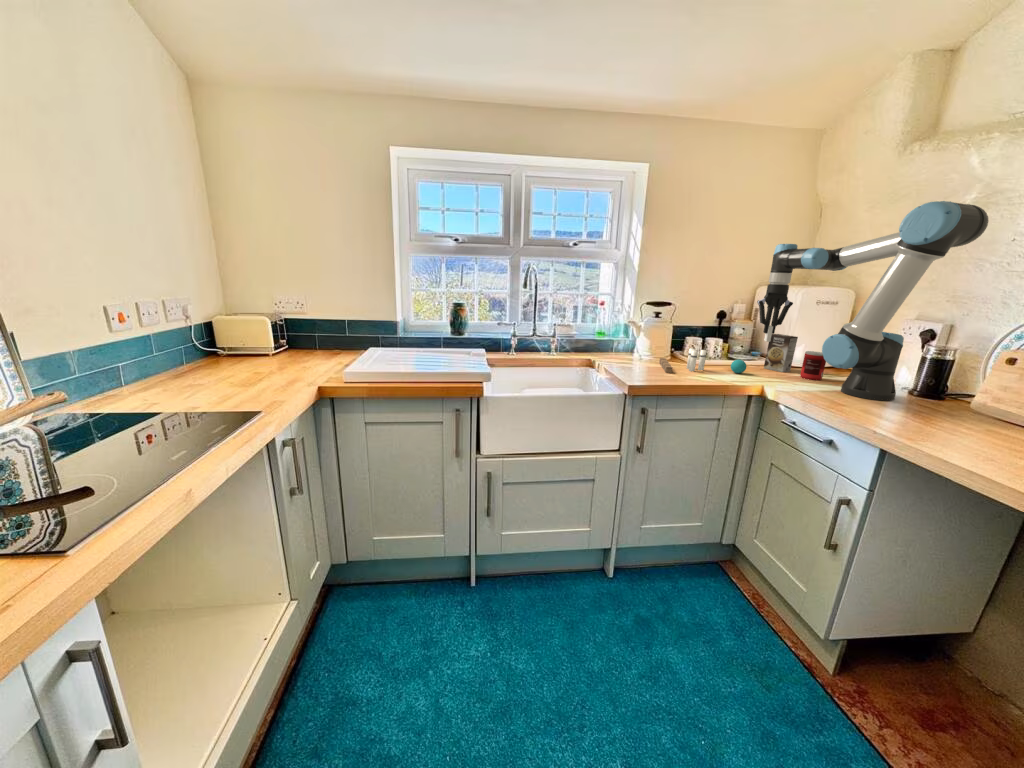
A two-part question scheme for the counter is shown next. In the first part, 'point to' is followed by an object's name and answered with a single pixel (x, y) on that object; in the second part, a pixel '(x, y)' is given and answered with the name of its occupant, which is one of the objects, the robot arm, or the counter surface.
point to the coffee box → (780, 352)
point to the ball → (738, 366)
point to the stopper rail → (665, 365)
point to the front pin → (702, 360)
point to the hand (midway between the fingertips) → (767, 341)
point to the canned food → (813, 365)
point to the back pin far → (689, 357)
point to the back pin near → (693, 360)
